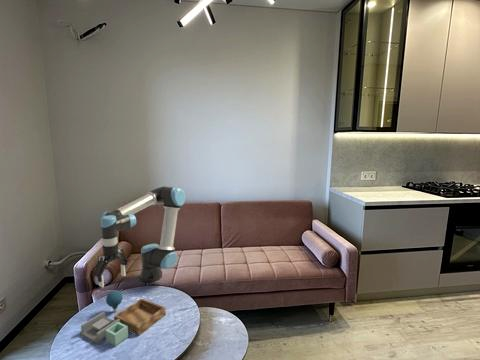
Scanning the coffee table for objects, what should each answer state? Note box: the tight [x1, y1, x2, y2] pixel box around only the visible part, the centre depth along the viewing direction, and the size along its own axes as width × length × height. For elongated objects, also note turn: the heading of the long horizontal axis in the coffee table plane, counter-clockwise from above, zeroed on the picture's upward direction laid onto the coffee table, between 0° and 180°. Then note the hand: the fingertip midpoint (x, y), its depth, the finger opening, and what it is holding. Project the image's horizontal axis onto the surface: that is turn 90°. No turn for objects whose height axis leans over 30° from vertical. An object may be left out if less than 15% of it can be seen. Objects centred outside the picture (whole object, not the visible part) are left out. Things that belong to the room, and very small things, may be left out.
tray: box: [113, 298, 167, 336], centre depth 147 cm, size 18×18×4 cm
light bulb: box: [105, 290, 124, 313], centre depth 154 cm, size 8×8×12 cm
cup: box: [105, 322, 129, 348], centre depth 133 cm, size 7×7×6 cm
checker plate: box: [92, 318, 110, 331], centre depth 138 cm, size 6×6×1 cm
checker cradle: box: [79, 311, 120, 346], centre depth 138 cm, size 14×14×5 cm
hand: (113, 280), depth 152 cm, fingers open, 13 cm apart
